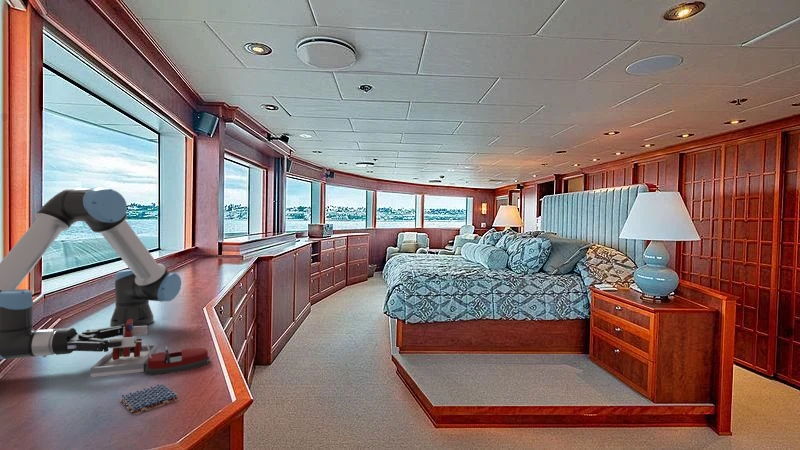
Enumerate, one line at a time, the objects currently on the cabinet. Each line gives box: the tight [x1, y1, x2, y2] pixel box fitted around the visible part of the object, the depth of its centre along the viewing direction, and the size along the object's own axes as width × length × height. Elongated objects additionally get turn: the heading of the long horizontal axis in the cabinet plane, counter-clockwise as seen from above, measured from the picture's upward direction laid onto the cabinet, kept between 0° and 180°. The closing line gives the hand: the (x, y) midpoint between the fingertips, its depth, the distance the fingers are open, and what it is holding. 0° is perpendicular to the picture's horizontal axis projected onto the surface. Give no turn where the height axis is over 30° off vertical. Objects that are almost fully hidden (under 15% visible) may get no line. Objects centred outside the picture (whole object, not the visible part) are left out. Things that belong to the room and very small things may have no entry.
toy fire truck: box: [112, 319, 143, 360], centre depth 123 cm, size 7×12×10 cm, turn 30°
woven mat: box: [119, 384, 180, 415], centre depth 99 cm, size 10×11×2 cm
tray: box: [90, 344, 160, 378], centre depth 123 cm, size 18×13×2 cm
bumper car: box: [134, 340, 210, 376], centre depth 121 cm, size 10×20×10 cm, turn 123°
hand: (141, 335), depth 124 cm, fingers closed on toy fire truck, 12 cm apart
